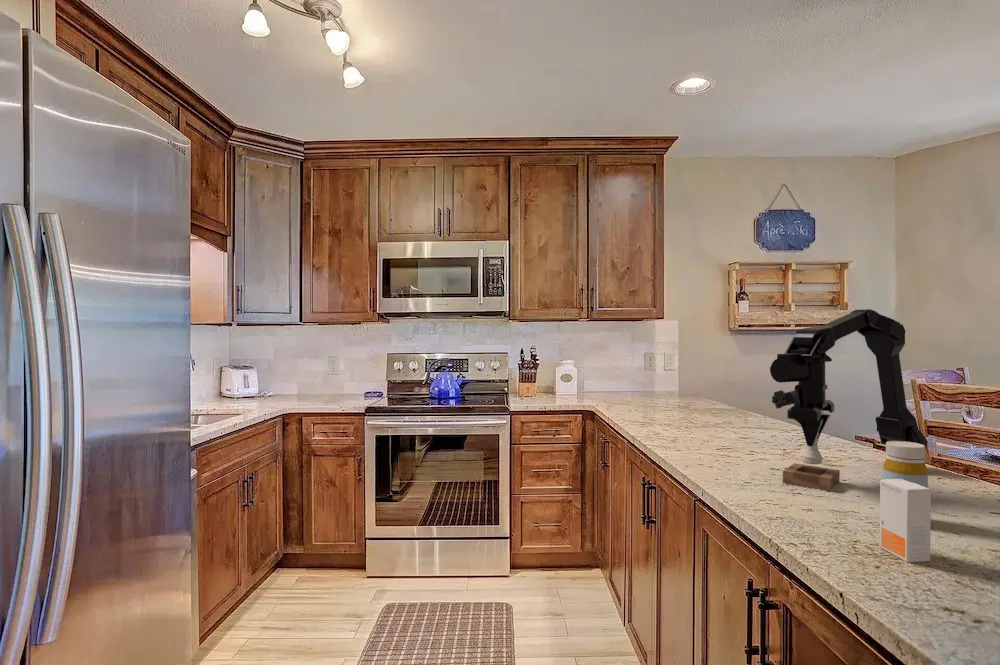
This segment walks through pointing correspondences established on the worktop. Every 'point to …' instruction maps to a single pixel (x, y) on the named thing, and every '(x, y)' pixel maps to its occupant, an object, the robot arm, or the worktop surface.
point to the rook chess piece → (812, 454)
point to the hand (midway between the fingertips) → (811, 444)
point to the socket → (811, 476)
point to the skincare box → (905, 519)
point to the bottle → (905, 462)
